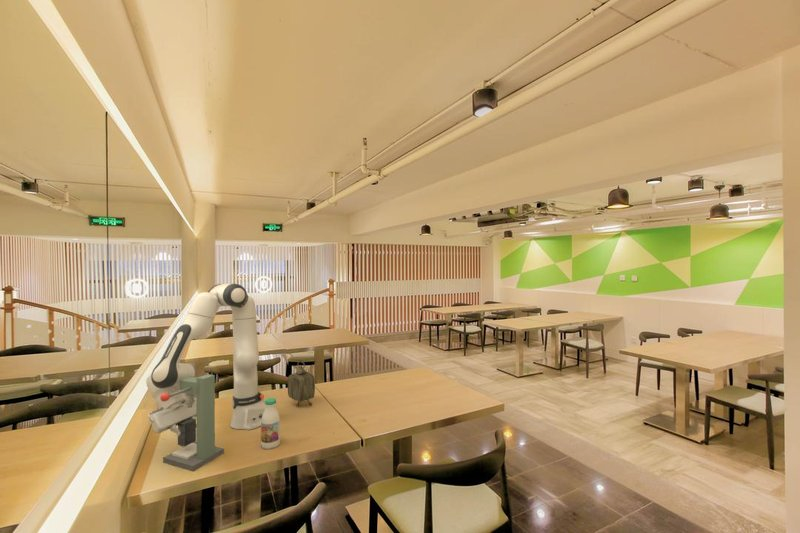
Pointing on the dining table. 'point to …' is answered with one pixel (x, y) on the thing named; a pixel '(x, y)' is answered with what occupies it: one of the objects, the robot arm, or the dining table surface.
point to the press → (205, 419)
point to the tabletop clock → (301, 385)
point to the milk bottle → (270, 425)
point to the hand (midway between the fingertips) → (188, 431)
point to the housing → (187, 432)
